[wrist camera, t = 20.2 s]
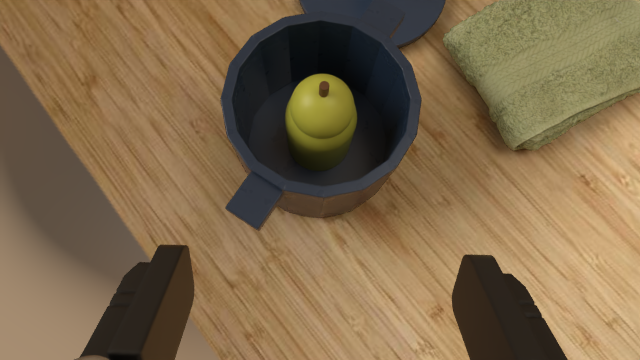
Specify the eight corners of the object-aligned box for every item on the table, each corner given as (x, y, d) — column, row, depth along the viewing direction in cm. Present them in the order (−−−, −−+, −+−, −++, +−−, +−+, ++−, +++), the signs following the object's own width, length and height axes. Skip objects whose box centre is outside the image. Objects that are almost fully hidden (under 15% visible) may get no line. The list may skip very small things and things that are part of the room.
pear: (275, 149, 34) (264, 96, 24) (309, 101, 35) (311, 32, 25) (327, 182, 33) (337, 141, 24) (361, 133, 34) (383, 74, 25)
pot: (190, 190, 33) (153, 160, 25) (313, 26, 37) (315, -48, 29) (322, 278, 32) (329, 276, 24) (435, 98, 36) (474, 43, 28)
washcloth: (674, 78, 37) (708, 60, 34) (509, 165, 35) (529, 153, 32) (587, -35, 40) (612, -62, 37) (428, 38, 37) (440, 15, 34)
